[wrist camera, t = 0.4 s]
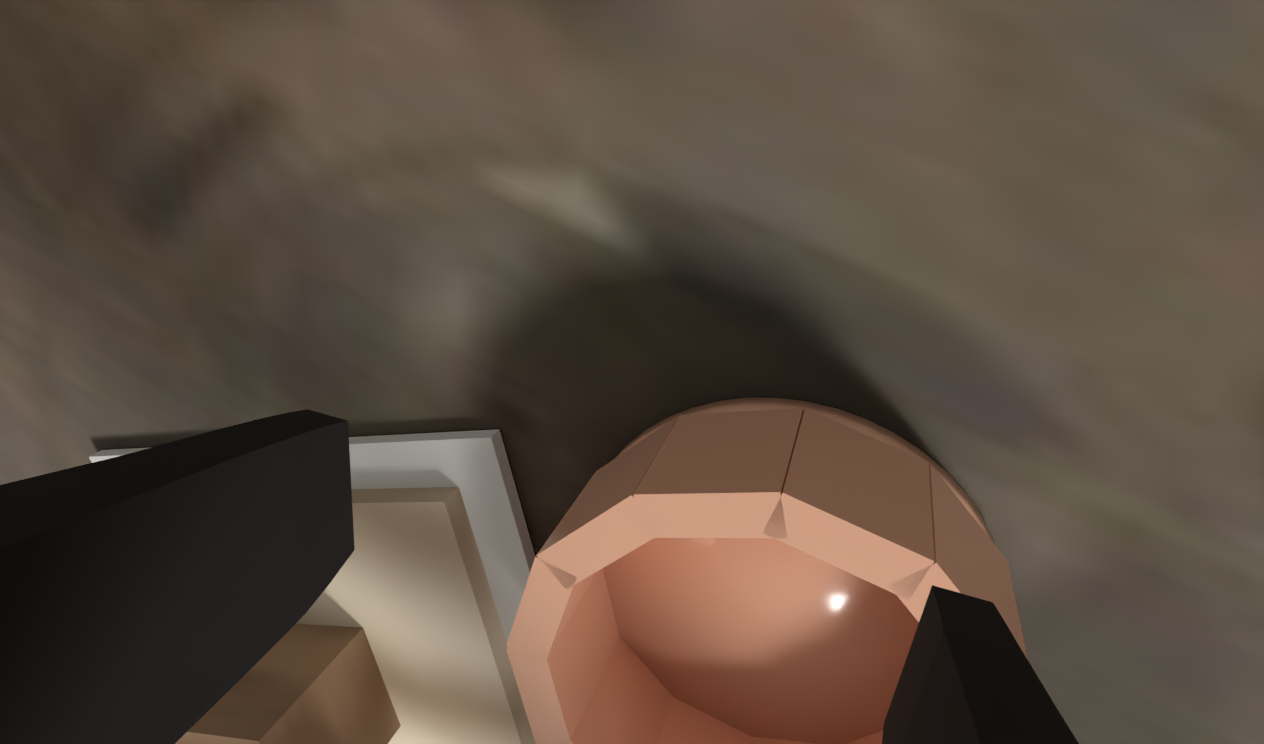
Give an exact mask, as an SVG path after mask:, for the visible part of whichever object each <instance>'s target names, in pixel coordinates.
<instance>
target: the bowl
mask: <svg viewBox="0 0 1264 744" xmlns="http://www.w3.org/2000/svg"><path fill="white" fill-rule="evenodd" d="M932 585H933V586H937V587H940V588H944V589H947V590H951V591H955V592H958V593H962V594H965V595H969V596H972V597H976V598H979V599H983V600H987V601H990V602H993V603H994V605H995V606H996V608H997V610H998V611H999V613H1000V614H1001V616H1002V618H1003V619H1004V621H1005V623H1006V624H1007V626H1008V628H1009V629H1010V631H1011V633H1012V634H1013V636H1014V638H1015V639H1016V641H1017V643H1018V644H1019V646H1020V648H1021V649H1022V651H1023V653H1024V654H1025V656H1026V658H1027V655H1026V650H1025V645H1024V640H1023V635H1022V630H1021V625H1020V620H1019V615H1018V610H1017V605H1016V600H1015V595H1014V590H1013V585H1012V580H1011V575H1010V570H1009V565H1008V561H1007V559H1006V558H1005V557H1004V556H1003V554H1002V553H1001V552H1000V551H999V549H998V548H997V547H996V544H995V541H994V539H993V537H992V535H991V533H990V531H989V529H988V527H987V525H986V523H985V521H984V519H983V517H982V516H981V514H980V513H979V511H978V510H977V508H976V507H975V505H974V504H973V502H972V501H971V499H970V498H969V497H968V495H967V494H966V493H965V491H964V490H963V489H962V488H961V487H960V486H959V485H958V484H957V483H956V481H955V480H954V479H953V478H952V477H951V476H950V475H949V474H948V473H947V472H946V471H945V470H944V469H943V468H942V467H941V466H939V465H938V464H937V463H936V462H935V461H934V460H932V459H931V458H930V457H929V456H928V455H927V454H925V453H924V452H923V451H922V450H920V449H919V448H917V447H916V446H914V445H912V444H911V443H909V442H908V441H906V440H905V439H903V438H902V437H900V436H899V435H897V434H896V433H894V432H892V431H890V430H888V429H886V428H884V427H882V426H880V425H878V424H876V423H874V422H872V421H870V420H868V419H865V418H862V417H860V416H857V415H854V414H851V413H849V412H846V411H843V410H840V409H838V408H833V407H829V406H825V405H821V404H817V403H812V402H808V401H801V400H793V399H784V398H738V399H730V400H722V401H716V402H712V403H708V404H704V405H700V406H696V407H692V408H689V409H687V410H684V411H682V412H679V413H677V414H675V415H672V416H670V417H667V418H665V419H664V420H662V421H660V422H658V423H657V424H655V425H653V426H651V427H650V428H648V429H646V430H645V431H644V432H642V433H641V434H640V435H639V436H637V437H636V438H635V439H634V440H632V441H631V442H630V443H629V444H627V445H626V446H625V447H624V448H623V450H622V451H621V452H620V453H619V454H618V455H617V456H616V457H615V458H614V459H613V460H612V461H611V462H609V463H608V464H606V465H605V466H603V467H602V468H600V469H599V470H597V471H596V472H595V473H594V475H593V476H592V477H591V479H590V480H589V482H588V483H587V485H586V486H585V487H584V489H583V490H582V492H581V493H580V494H579V496H578V497H577V499H576V500H575V501H574V503H573V504H572V506H571V507H570V508H569V510H568V511H567V513H566V514H565V516H564V517H563V518H562V520H561V521H560V523H559V524H558V525H557V527H556V528H555V530H554V531H553V532H552V534H551V535H550V537H549V538H548V539H547V541H546V542H545V544H544V545H543V546H542V548H541V549H540V551H539V552H538V554H537V555H536V556H535V559H534V562H533V565H532V568H531V571H530V574H529V577H528V581H527V584H526V587H525V590H524V593H523V596H522V599H521V602H520V605H519V608H518V611H517V614H516V617H515V620H514V623H513V627H512V630H511V633H510V636H509V639H508V642H507V645H506V650H507V653H508V657H509V660H510V663H511V666H512V669H513V673H514V676H515V679H516V682H517V685H518V689H519V692H520V695H521V698H522V701H523V705H524V708H525V711H526V714H527V718H528V721H529V724H530V727H531V730H532V734H533V737H534V740H535V743H536V744H882V737H883V727H884V721H885V718H886V715H887V712H888V710H889V707H890V704H891V701H892V698H893V695H894V692H895V690H896V687H897V684H898V681H899V678H900V675H901V673H902V670H903V667H904V664H905V661H906V658H907V655H908V653H909V650H910V647H911V644H912V641H913V638H914V635H915V633H916V630H917V627H918V624H919V621H920V618H921V615H922V613H923V610H924V607H925V604H926V601H927V598H928V595H929V593H930V590H931V587H932Z"/></svg>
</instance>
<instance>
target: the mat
mask: <svg viewBox="0 0 1264 744" xmlns="http://www.w3.org/2000/svg"><path fill="white" fill-rule="evenodd" d="M150 448H152V447H150ZM144 449H148V448H131V449H112V450H101V451H99V452H97V453H95V454H93V455H91V456H89V458H90V460H91V462H92V463H94V462H98V461H102V460H106V459H110V458H114V457H118V456H122V455H126V454H129V453H133V452H137V451H141V450H144ZM349 452H350V471H351V489H390V488H436V487H459V489H460V492H461V496H462V499H463V502H464V505H465V509H466V512H467V515H468V518H469V521H470V525H471V528H472V531H473V534H474V538H475V541H476V544H477V547H478V550H479V554H480V557H481V560H482V563H483V567H484V570H485V573H486V576H487V579H488V583H489V586H490V589H491V592H492V596H493V599H494V602H495V605H496V608H497V612H498V615H499V618H500V621H501V625H502V628H503V631H504V634H505V637H506V641H507V642H508V639H509V636H510V633H511V630H512V627H513V623H514V620H515V617H516V614H517V611H518V608H519V605H520V602H521V599H522V596H523V593H524V590H525V587H526V584H527V581H528V577H529V574H530V571H531V568H532V565H533V562H534V559H535V553H534V550H533V546H532V543H531V539H530V536H529V532H528V529H527V525H526V522H525V518H524V515H523V511H522V507H521V504H520V500H519V497H518V493H517V490H516V486H515V483H514V479H513V476H512V472H511V469H510V465H509V461H508V458H507V454H506V451H505V447H504V444H503V440H502V437H501V433H500V430H499V429H495V430H476V431H457V432H438V433H419V434H399V435H380V436H361V437H349Z"/></svg>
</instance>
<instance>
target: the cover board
mask: <svg viewBox="0 0 1264 744" xmlns="http://www.w3.org/2000/svg"><path fill="white" fill-rule="evenodd" d="M351 490H352V510H353V529H354V548H355V550H354V551H353V553H352V554H351V555H350V557H349V558H348V560H347V561H346V562H345V564H344V565H343V566H342V568H341V569H340V570H339V572H338V573H337V574H336V576H335V577H334V578H333V580H332V581H331V582H330V584H329V585H328V586H327V588H326V589H325V590H324V591H323V593H322V594H321V595H320V596H319V598H318V599H317V600H316V601H315V603H314V604H313V605H312V606H311V607H310V609H309V610H308V611H307V612H306V614H305V615H304V616H303V617H302V618H301V619H300V620H299V621H298V622H297V623H296V624H295V625H294V626H293V627H292V628H291V629H290V630H289V631H288V632H287V633H286V634H285V635H284V636H283V637H282V638H281V639H280V640H279V641H278V642H277V643H276V644H275V645H274V646H273V647H272V648H271V649H270V650H269V651H268V652H267V653H266V654H265V655H264V656H263V657H262V658H261V659H260V660H259V661H258V662H257V663H256V664H255V665H254V666H253V667H252V668H251V669H250V670H249V671H248V672H247V673H246V674H245V675H244V676H243V677H242V678H241V679H240V680H239V681H238V682H237V683H236V684H235V685H234V686H233V687H232V688H231V689H230V690H229V691H228V692H227V693H226V694H225V695H224V696H223V697H222V698H221V699H220V700H219V701H218V702H217V703H216V704H215V705H214V706H213V707H212V708H211V709H210V710H209V711H208V712H207V713H206V714H205V715H204V716H203V717H202V718H201V719H200V720H198V721H197V722H196V723H195V724H194V725H193V726H192V727H191V728H190V729H189V730H188V731H187V732H186V733H185V734H184V735H183V736H182V737H181V738H180V739H179V740H178V741H177V742H176V743H175V744H536V743H535V740H534V737H533V734H532V730H531V727H530V724H529V721H528V718H527V714H526V711H525V708H524V705H523V701H522V698H521V695H520V692H519V689H518V685H517V682H516V679H515V676H514V673H513V669H512V666H511V663H510V660H509V657H508V653H507V650H506V645H507V641H506V637H505V634H504V631H503V628H502V625H501V621H500V618H499V615H498V612H497V608H496V605H495V602H494V599H493V596H492V592H491V589H490V586H489V583H488V579H487V576H486V573H485V570H484V567H483V563H482V560H481V557H480V554H479V550H478V547H477V544H476V541H475V538H474V534H473V531H472V528H471V525H470V521H469V518H468V515H467V512H466V509H465V505H464V502H463V499H462V496H461V492H460V489H459V487H436V488H390V489H351Z"/></svg>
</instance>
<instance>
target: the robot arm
mask: <svg viewBox="0 0 1264 744" xmlns="http://www.w3.org/2000/svg"><path fill="white" fill-rule="evenodd" d="M354 550H355V548H354V529H353V510H352V490H351V471H350V452H349V433H348V421H347V420H343V419H340V418H336V417H332V416H329V415H325V414H322V413H318V412H315V411H311V410H302V411H296V412H290V413H285V414H280V415H275V416H271V417H267V418H262V419H258V420H254V421H250V422H246V423H242V424H238V425H234V426H230V427H227V428H223V429H219V430H215V431H211V432H208V433H204V434H200V435H196V436H193V437H189V438H185V439H182V440H178V441H174V442H170V443H167V444H163V445H159V446H155V447H152V448H148V449H144V450H141V451H137V452H133V453H129V454H126V455H122V456H118V457H114V458H110V459H106V460H102V461H98V462H94V463H90V464H86V465H82V466H77V467H73V468H69V469H65V470H61V471H57V472H53V473H49V474H44V475H40V476H36V477H32V478H28V479H24V480H20V481H16V482H11V483H7V484H3V485H0V744H175V743H176V742H177V741H178V740H179V739H180V738H181V737H182V736H183V735H184V734H185V733H186V732H187V731H188V730H189V729H190V728H191V727H192V726H193V725H194V724H195V723H196V722H197V721H198V720H200V719H201V718H202V717H203V716H204V715H205V714H206V713H207V712H208V711H209V710H210V709H211V708H212V707H213V706H214V705H215V704H216V703H217V702H218V701H219V700H220V699H221V698H222V697H223V696H224V695H225V694H226V693H227V692H228V691H229V690H230V689H231V688H232V687H233V686H234V685H235V684H236V683H237V682H238V681H239V680H240V679H241V678H242V677H243V676H244V675H245V674H246V673H247V672H248V671H249V670H250V669H251V668H252V667H253V666H254V665H255V664H256V663H257V662H258V661H259V660H260V659H261V658H262V657H263V656H264V655H265V654H266V653H267V652H268V651H269V650H270V649H271V648H272V647H273V646H274V645H275V644H276V643H277V642H278V641H279V640H280V639H281V638H282V637H283V636H284V635H285V634H286V633H287V632H288V631H289V630H290V629H291V628H292V627H293V626H294V625H295V624H296V623H297V622H298V621H299V620H300V619H301V618H302V617H303V616H304V615H305V614H306V612H307V611H308V610H309V609H310V607H311V606H312V605H313V604H314V603H315V601H316V600H317V599H318V598H319V596H320V595H321V594H322V593H323V591H324V590H325V589H326V588H327V586H328V585H329V584H330V582H331V581H332V580H333V578H334V577H335V576H336V574H337V573H338V572H339V570H340V569H341V568H342V566H343V565H344V564H345V562H346V561H347V560H348V558H349V557H350V555H351V554H352V553H353V551H354ZM882 744H1079V743H1078V742H1077V740H1076V738H1075V737H1074V735H1073V734H1072V732H1071V730H1070V729H1069V727H1068V726H1067V724H1066V722H1065V721H1064V719H1063V718H1062V716H1061V714H1060V713H1059V711H1058V709H1057V708H1056V706H1055V704H1054V703H1053V701H1052V700H1051V698H1050V696H1049V695H1048V693H1047V691H1046V690H1045V688H1044V686H1043V685H1042V683H1041V681H1040V680H1039V678H1038V676H1037V675H1036V673H1035V671H1034V670H1033V668H1032V666H1031V665H1030V663H1029V661H1028V660H1027V658H1026V656H1025V654H1024V653H1023V651H1022V649H1021V648H1020V646H1019V644H1018V643H1017V641H1016V639H1015V638H1014V636H1013V634H1012V633H1011V631H1010V629H1009V628H1008V626H1007V624H1006V623H1005V621H1004V619H1003V618H1002V616H1001V614H1000V613H999V611H998V610H997V608H996V606H995V605H994V603H993V602H990V601H987V600H983V599H979V598H976V597H972V596H969V595H965V594H962V593H958V592H955V591H951V590H947V589H944V588H940V587H937V586H933V585H932V587H931V590H930V593H929V595H928V598H927V601H926V604H925V607H924V610H923V613H922V615H921V618H920V621H919V624H918V627H917V630H916V633H915V635H914V638H913V641H912V644H911V647H910V650H909V653H908V655H907V658H906V661H905V664H904V667H903V670H902V673H901V675H900V678H899V681H898V684H897V687H896V690H895V692H894V695H893V698H892V701H891V704H890V707H889V710H888V712H887V715H886V718H885V721H884V727H883V737H882Z"/></svg>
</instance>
